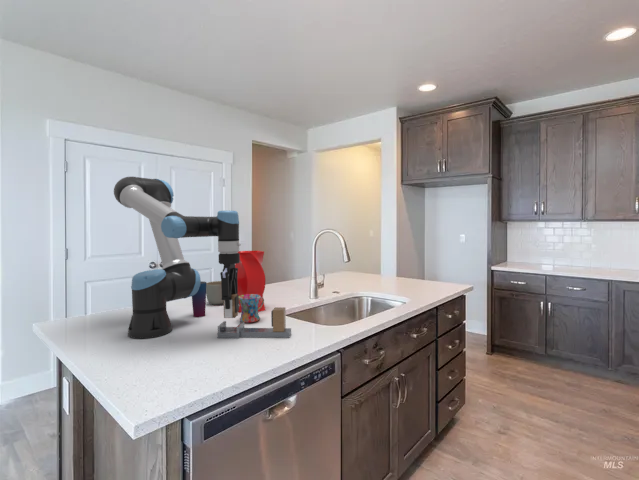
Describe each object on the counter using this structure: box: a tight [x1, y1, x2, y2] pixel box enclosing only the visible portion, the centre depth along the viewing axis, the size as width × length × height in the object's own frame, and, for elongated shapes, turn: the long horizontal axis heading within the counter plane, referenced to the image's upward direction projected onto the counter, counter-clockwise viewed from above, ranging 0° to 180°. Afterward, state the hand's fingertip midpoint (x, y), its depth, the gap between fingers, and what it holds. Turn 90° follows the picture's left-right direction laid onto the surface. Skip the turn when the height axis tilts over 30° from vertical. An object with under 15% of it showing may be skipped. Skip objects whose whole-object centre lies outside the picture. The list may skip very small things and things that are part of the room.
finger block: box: [223, 294, 239, 319], centre depth 130 cm, size 5×4×8 cm
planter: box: [206, 280, 224, 306], centre depth 183 cm, size 12×12×11 cm
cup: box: [191, 281, 208, 318], centre depth 159 cm, size 7×7×15 cm
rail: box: [216, 306, 292, 339], centre depth 130 cm, size 26×7×10 cm, turn 87°
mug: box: [239, 294, 265, 324], centre depth 151 cm, size 12×9×11 cm
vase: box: [235, 250, 266, 313], centre depth 169 cm, size 15×14×28 cm
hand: (230, 315), depth 131 cm, fingers closed on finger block, 4 cm apart
